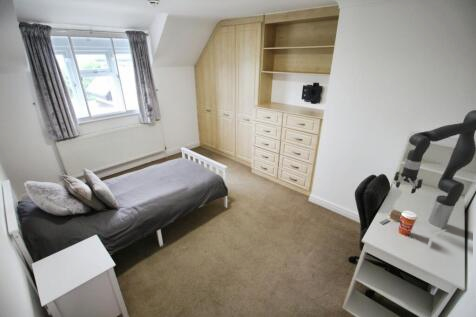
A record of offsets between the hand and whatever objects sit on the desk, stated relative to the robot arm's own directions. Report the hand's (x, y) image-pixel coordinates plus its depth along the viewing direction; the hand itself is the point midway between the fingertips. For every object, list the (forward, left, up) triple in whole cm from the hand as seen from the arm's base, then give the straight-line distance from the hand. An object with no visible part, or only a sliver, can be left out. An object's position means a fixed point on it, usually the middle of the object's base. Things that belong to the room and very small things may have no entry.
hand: (404, 190), depth 141 cm
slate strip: (+7, -3, -24) cm, 25 cm away
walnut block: (-3, -2, -24) cm, 24 cm away
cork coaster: (-3, -2, -24) cm, 24 cm away
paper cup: (+7, +9, -24) cm, 27 cm away
